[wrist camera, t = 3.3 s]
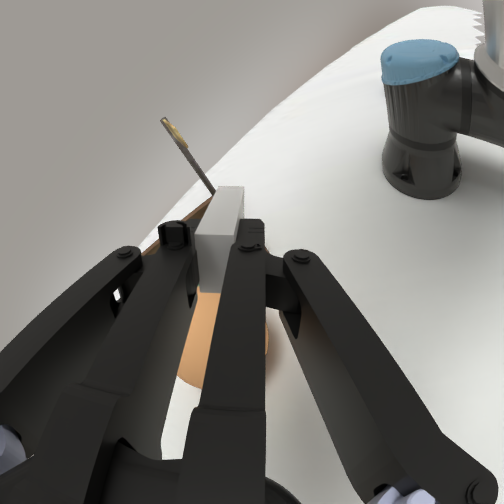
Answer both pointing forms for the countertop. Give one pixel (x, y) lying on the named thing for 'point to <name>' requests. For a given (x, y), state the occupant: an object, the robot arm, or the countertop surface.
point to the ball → (201, 339)
